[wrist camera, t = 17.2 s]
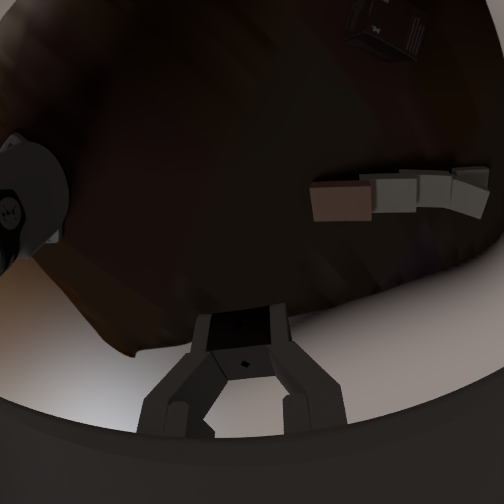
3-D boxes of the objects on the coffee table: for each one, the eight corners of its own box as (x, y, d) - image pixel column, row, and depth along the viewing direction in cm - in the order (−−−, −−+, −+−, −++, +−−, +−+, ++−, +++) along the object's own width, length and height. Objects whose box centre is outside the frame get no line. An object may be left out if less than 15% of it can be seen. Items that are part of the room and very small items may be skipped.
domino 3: (400, 206, 32) (448, 207, 30) (401, 174, 30) (451, 176, 27) (398, 200, 34) (445, 201, 31) (398, 169, 31) (447, 170, 29)
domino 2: (361, 212, 33) (415, 212, 30) (359, 179, 31) (416, 178, 28) (361, 206, 34) (413, 205, 32) (359, 174, 32) (413, 173, 29)
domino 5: (439, 205, 32) (480, 219, 29) (446, 177, 29) (489, 191, 27) (437, 200, 33) (477, 213, 31) (445, 172, 30) (486, 186, 28)
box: (385, 63, 24) (418, 63, 18) (338, 40, 23) (362, 32, 17) (398, 23, 20) (432, 16, 14) (352, -1, 20) (378, -17, 14)
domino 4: (454, 200, 32) (485, 195, 31) (457, 171, 29) (489, 169, 28) (447, 194, 33) (479, 190, 32) (450, 166, 31) (482, 164, 30)
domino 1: (314, 221, 34) (371, 220, 31) (309, 188, 31) (370, 186, 29) (315, 214, 35) (370, 213, 33) (311, 182, 33) (369, 180, 30)
